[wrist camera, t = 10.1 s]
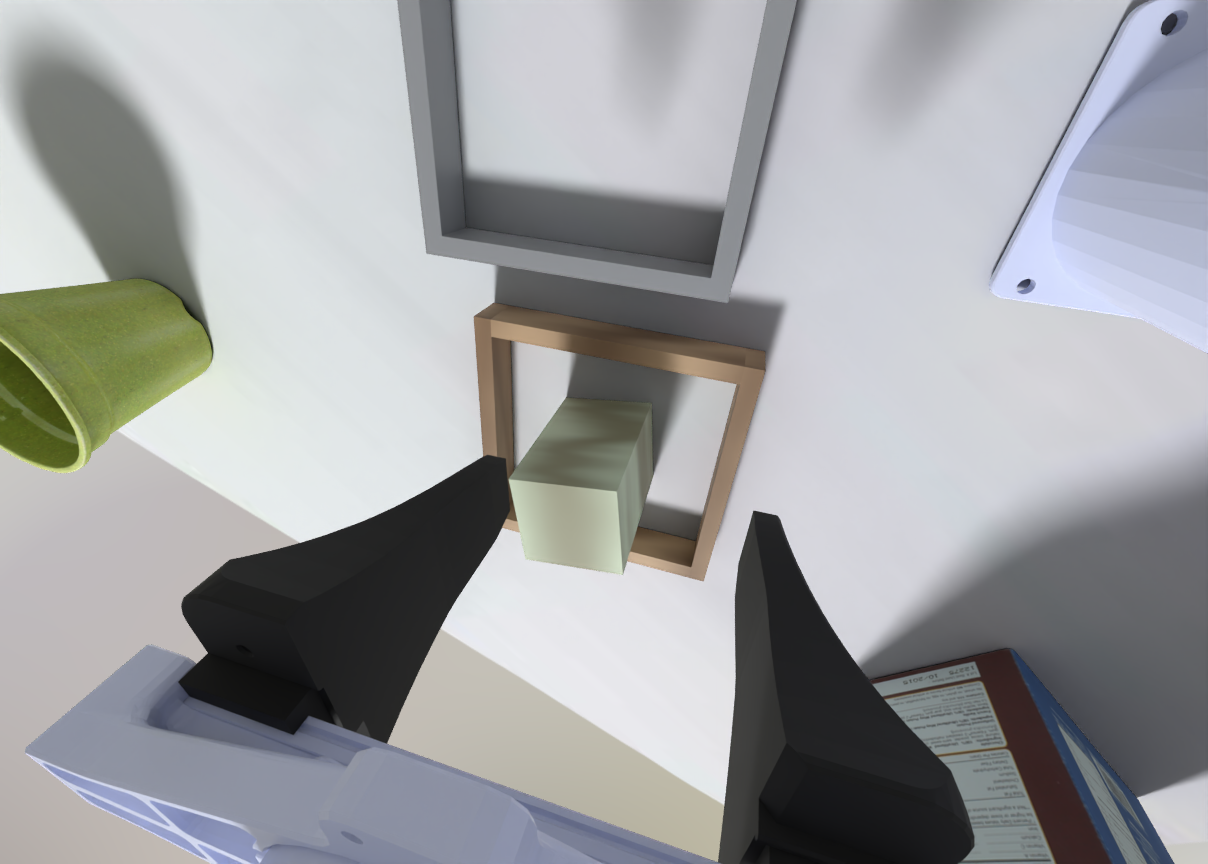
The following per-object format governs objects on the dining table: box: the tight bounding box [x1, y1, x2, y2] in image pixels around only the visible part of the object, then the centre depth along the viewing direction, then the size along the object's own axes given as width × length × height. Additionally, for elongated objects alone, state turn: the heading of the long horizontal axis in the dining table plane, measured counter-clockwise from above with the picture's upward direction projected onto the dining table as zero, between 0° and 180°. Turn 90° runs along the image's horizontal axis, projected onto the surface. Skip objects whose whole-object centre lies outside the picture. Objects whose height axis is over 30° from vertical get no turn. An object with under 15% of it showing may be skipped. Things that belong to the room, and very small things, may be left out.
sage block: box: [509, 397, 653, 575], centre depth 23 cm, size 4×4×7 cm
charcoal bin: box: [397, 0, 797, 303], centre depth 17 cm, size 13×13×2 cm
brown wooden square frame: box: [474, 303, 765, 581], centre depth 25 cm, size 13×13×2 cm
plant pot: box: [0, 279, 212, 473], centre depth 26 cm, size 9×9×9 cm
